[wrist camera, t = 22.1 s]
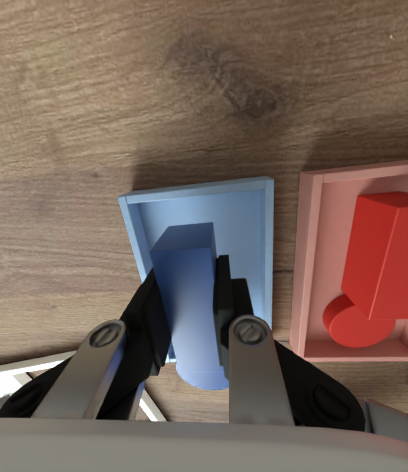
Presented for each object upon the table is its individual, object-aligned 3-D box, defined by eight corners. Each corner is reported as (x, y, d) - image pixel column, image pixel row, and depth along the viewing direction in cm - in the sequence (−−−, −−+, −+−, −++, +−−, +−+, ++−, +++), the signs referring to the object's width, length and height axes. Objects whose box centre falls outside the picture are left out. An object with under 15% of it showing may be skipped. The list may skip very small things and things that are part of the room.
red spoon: (338, 196, 12) (375, 209, 9) (419, 188, 11) (483, 199, 9) (319, 335, 16) (339, 372, 13) (376, 334, 16) (409, 372, 13)
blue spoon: (149, 227, 10) (123, 253, 7) (233, 219, 10) (238, 244, 7) (184, 372, 15) (176, 423, 12) (243, 372, 14) (249, 425, 11)
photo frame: (-31, 379, 21) (106, 354, 18) (-20, 369, 22) (112, 343, 19) (48, 446, 26) (167, 437, 23) (54, 436, 27) (169, 425, 24)
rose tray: (468, 152, 11) (516, 152, 9) (400, 339, 16) (422, 361, 14) (299, 171, 12) (313, 174, 10) (289, 341, 17) (297, 361, 15)
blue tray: (266, 175, 12) (274, 178, 10) (266, 341, 17) (271, 362, 16) (130, 191, 13) (116, 196, 11) (169, 343, 18) (164, 362, 17)
